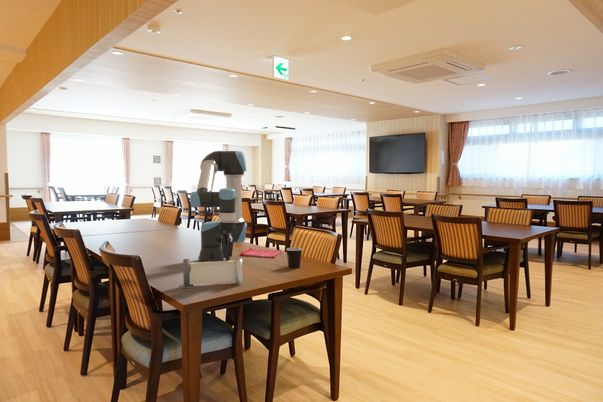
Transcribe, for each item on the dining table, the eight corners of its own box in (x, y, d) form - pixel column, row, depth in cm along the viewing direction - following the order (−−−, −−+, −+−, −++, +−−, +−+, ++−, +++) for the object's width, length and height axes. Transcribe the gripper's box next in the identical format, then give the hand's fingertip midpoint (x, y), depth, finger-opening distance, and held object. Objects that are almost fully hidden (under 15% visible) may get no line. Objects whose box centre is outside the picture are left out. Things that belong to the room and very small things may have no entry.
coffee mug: (300, 269, 215) (300, 251, 214) (284, 268, 216) (284, 250, 216) (304, 264, 226) (304, 247, 225) (289, 263, 228) (289, 246, 227)
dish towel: (250, 251, 265) (250, 247, 265) (283, 253, 258) (283, 249, 258) (238, 256, 249) (238, 252, 248) (274, 259, 242) (274, 255, 242)
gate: (183, 286, 180) (183, 260, 179) (183, 284, 182) (183, 259, 182) (239, 282, 186) (239, 257, 185) (239, 281, 189) (239, 256, 188)
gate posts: (179, 289, 177) (179, 263, 176) (180, 285, 184) (179, 259, 183) (242, 285, 184) (242, 259, 183) (241, 281, 191) (240, 256, 190)
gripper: (215, 220, 191) (215, 268, 193) (223, 223, 180) (223, 274, 182) (230, 219, 194) (230, 266, 196) (239, 222, 183) (239, 272, 185)
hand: (226, 270), depth 189 cm, fingers closed
